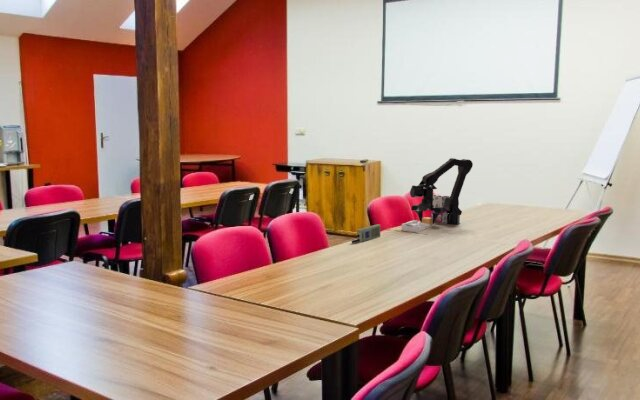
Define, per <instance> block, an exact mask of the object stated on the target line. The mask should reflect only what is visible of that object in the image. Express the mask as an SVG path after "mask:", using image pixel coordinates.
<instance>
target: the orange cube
mask: <svg viewBox="0 0 640 400" xmlns="http://www.w3.org/2000/svg"><path fill="white" fill-rule="evenodd" d="M422 223H425V224H430V225H432V224H433V218H431V217H428V216H426V217H425V216H424V217H423V218H422Z"/></svg>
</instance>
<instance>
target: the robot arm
mask: <svg viewBox="0 0 640 400" xmlns="http://www.w3.org/2000/svg"><path fill="white" fill-rule="evenodd" d="M473 165H474V164H473V161H472V160H471V159H465V158H462V159H457V158H454V157H450V158H449V159H448V160H447V161H446V162H444V163H443V164H442V165H440V166H439V167H437V168H436V169H435V170H433V171H432V172H428V173H427V174H425V175H423V176H422V178H421V181H420V182H419V184H418V185H411V187H410V191H409V195H410V197H411V198H421V202H419V204H413V205H411V207H410V210H411V211H414V213H416V214H417V217H418V219H419V223H422V218H424V217H423V215H424V212H426V211H430V212H431V211H434V213H432V214H433V222H432V224H434V225H435V223H436V222H437V221H436V218H437V217H438V215H439V214H440V213H443V212H444V208H445V210H446V211H447V213H448V216H447V222H445V223H446V225H453V226H458V225H460V224H461V222H460V217H461V215H462V214H463V211H462V209H460V207H459V204H460V202H459V199H460V198H459V197H460V195H461V191H462V189H463V186H464V182H465V181H466V177H467V175H468V174H469V173H470V172H471V170H472V168H473ZM455 166H456V167H457V176H456V178H455V182H454V184H453V187H452V191H451V193H450V195H449V198H446V199H445V203H444V207H435V208H433V207H434V205H433V200H434V198H433V194H434V190H437V189H438V187H436V186H435V184H436V183H437V182H438V180H439V178H440V177H442V176H443V175H444V174H445V173H447V172H448V171H449V170H451V169H452V168H453V167H455Z"/></svg>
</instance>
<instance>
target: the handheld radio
mask: <svg viewBox="0 0 640 400" xmlns="http://www.w3.org/2000/svg"><path fill="white" fill-rule="evenodd" d="M356 237H357V238H356V239H353V240H351V243H352V244H354V243H363V242H366V241H370V240H373V239H377V238H380V237H381V224H380V223H379V224H378V223H377V224H374V225H370V226H366V227H362V228H358V229H356Z"/></svg>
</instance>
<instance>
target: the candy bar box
mask: <svg viewBox="0 0 640 400" xmlns="http://www.w3.org/2000/svg"><path fill="white" fill-rule="evenodd" d="M449 197H450V195H445V194H438V193H433V198H434V200H433V205H434V207H433V208H435V207H444V203H445V199H446V198H449ZM432 213H434V211H430V218H433V214H432ZM448 214H449V213H447V211H446V210H445V208H444V212H443V213H440V214H439V215H438V217H437V218H436V221H435V222H437V223H442V224H443V223H447V216H448Z"/></svg>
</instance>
